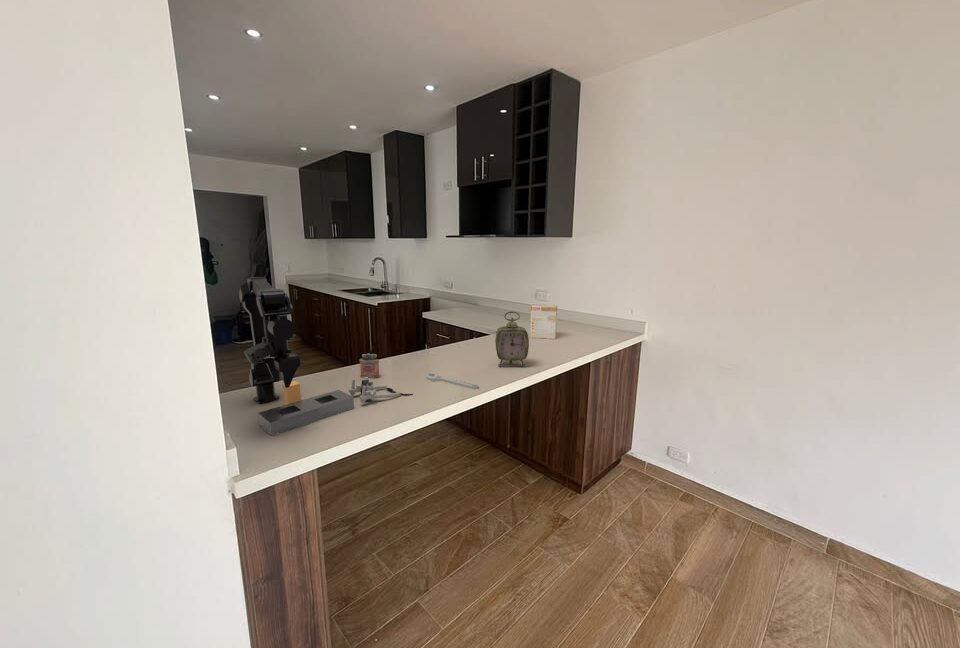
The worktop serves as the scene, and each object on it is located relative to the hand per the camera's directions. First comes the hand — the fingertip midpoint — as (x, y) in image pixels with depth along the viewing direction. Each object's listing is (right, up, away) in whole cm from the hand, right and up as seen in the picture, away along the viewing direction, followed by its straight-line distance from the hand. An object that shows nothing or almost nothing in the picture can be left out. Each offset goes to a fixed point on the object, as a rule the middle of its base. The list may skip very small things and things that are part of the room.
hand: (281, 383), depth 116 cm
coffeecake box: (+98, +10, +115) cm, 152 cm away
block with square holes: (+5, -12, +7) cm, 14 cm away
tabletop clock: (+74, -1, +61) cm, 96 cm away
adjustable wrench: (+48, -6, +38) cm, 61 cm away
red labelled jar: (+14, -4, +44) cm, 47 cm away
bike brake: (+24, -9, +24) cm, 35 cm away
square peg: (-3, -10, +15) cm, 18 cm away
